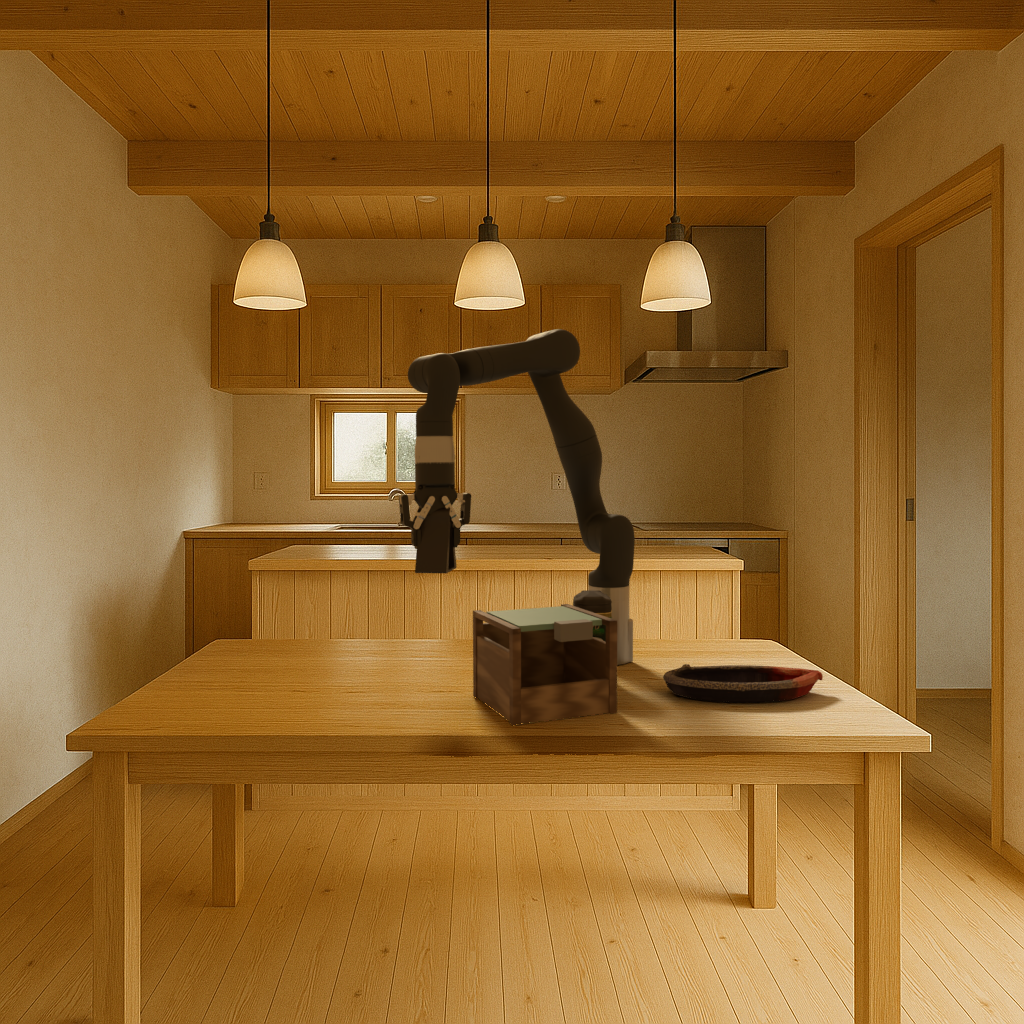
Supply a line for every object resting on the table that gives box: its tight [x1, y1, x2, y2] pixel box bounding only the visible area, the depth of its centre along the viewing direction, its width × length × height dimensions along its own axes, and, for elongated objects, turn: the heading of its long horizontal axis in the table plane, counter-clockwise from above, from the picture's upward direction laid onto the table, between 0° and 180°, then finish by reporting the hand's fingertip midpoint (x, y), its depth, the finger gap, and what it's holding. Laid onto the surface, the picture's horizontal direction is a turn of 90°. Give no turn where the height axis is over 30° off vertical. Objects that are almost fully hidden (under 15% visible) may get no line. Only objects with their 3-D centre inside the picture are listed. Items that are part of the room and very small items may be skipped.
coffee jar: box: [572, 589, 612, 642], centre depth 170 cm, size 10×8×19 cm
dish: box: [662, 663, 824, 704], centre depth 161 cm, size 16×31×5 cm, turn 90°
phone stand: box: [414, 508, 458, 574], centre depth 160 cm, size 9×6×12 cm, turn 171°
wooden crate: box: [472, 603, 618, 726], centre depth 154 cm, size 20×20×16 cm
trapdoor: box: [485, 605, 602, 642], centre depth 151 cm, size 16×22×3 cm
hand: (435, 547), depth 160 cm, fingers closed on phone stand, 6 cm apart
